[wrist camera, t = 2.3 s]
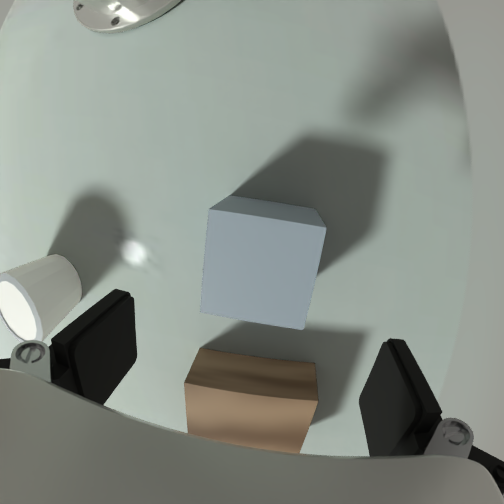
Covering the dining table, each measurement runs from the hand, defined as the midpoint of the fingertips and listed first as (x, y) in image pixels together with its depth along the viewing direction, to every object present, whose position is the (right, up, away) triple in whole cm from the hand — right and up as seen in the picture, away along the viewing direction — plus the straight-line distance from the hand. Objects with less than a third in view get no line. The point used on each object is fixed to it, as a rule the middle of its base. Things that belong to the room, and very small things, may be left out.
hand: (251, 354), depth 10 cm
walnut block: (0, -10, +16) cm, 19 cm away
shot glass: (-19, +1, +15) cm, 24 cm away
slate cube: (+1, +4, +11) cm, 12 cm away
